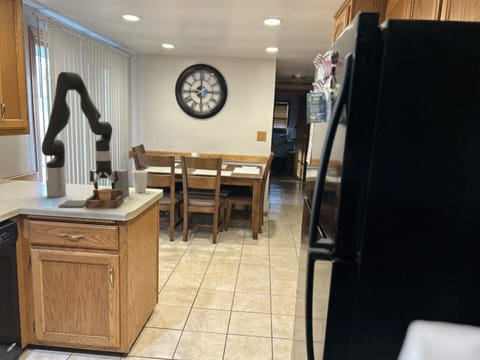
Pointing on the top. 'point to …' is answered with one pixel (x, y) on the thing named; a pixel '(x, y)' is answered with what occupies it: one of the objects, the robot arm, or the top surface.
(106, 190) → the flowerpot
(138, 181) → the foam cup
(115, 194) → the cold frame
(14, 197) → the top surface
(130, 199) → the top surface
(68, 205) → the slate mat
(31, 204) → the top surface
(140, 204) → the top surface
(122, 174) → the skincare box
